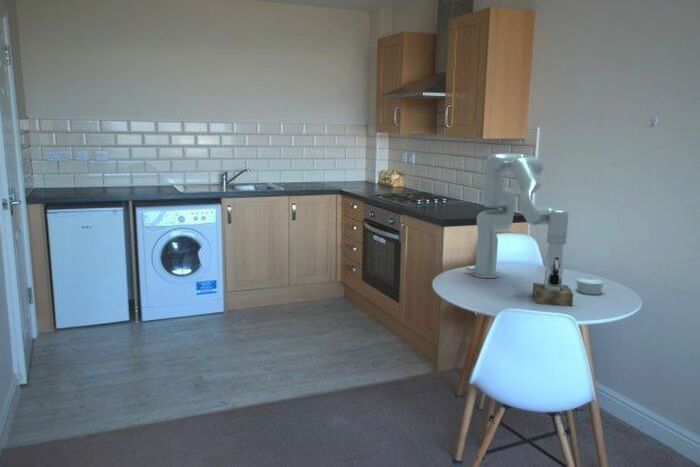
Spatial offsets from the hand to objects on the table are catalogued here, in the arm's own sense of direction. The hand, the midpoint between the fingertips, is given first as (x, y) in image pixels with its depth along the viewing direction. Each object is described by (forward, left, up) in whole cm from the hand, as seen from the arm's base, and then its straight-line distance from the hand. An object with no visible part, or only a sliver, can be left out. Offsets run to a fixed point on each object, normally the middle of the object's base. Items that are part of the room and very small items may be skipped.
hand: (552, 281), depth 242 cm
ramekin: (+18, +18, -8) cm, 27 cm away
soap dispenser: (0, 0, -7) cm, 7 cm away
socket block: (0, 0, -8) cm, 8 cm away
